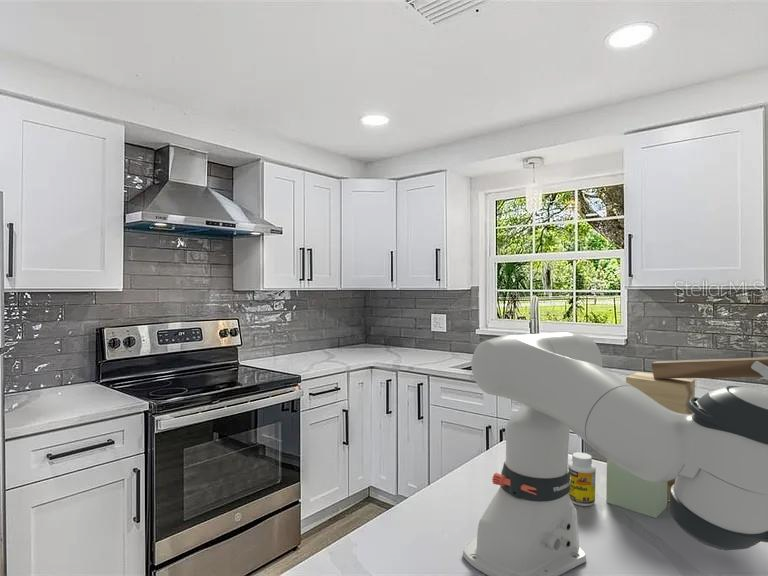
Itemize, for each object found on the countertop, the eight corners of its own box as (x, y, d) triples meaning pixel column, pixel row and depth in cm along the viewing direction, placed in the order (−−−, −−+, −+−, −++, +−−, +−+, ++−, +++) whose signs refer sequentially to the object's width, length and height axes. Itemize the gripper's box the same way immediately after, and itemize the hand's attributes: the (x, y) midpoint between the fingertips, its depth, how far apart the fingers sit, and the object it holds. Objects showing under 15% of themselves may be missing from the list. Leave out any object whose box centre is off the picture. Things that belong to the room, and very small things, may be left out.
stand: (682, 504, 107) (684, 385, 107) (624, 487, 116) (626, 376, 115) (692, 493, 113) (694, 379, 112) (636, 477, 122) (638, 371, 121)
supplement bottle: (563, 501, 109) (564, 455, 109) (573, 493, 113) (574, 448, 113) (589, 510, 105) (590, 462, 105) (599, 501, 109) (599, 455, 109)
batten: (774, 377, 97) (771, 359, 98) (653, 378, 113) (651, 363, 113) (777, 374, 100) (774, 356, 100) (658, 376, 116) (656, 361, 116)
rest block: (656, 518, 102) (657, 426, 101) (606, 502, 109) (607, 416, 108) (666, 506, 106) (668, 419, 106) (618, 492, 114) (619, 409, 113)
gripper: (816, 432, 87) (734, 381, 95) (827, 409, 101) (755, 367, 109) (842, 404, 84) (755, 355, 93) (849, 385, 98) (774, 344, 107)
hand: (755, 362), depth 101 cm, fingers closed on batten, 3 cm apart
